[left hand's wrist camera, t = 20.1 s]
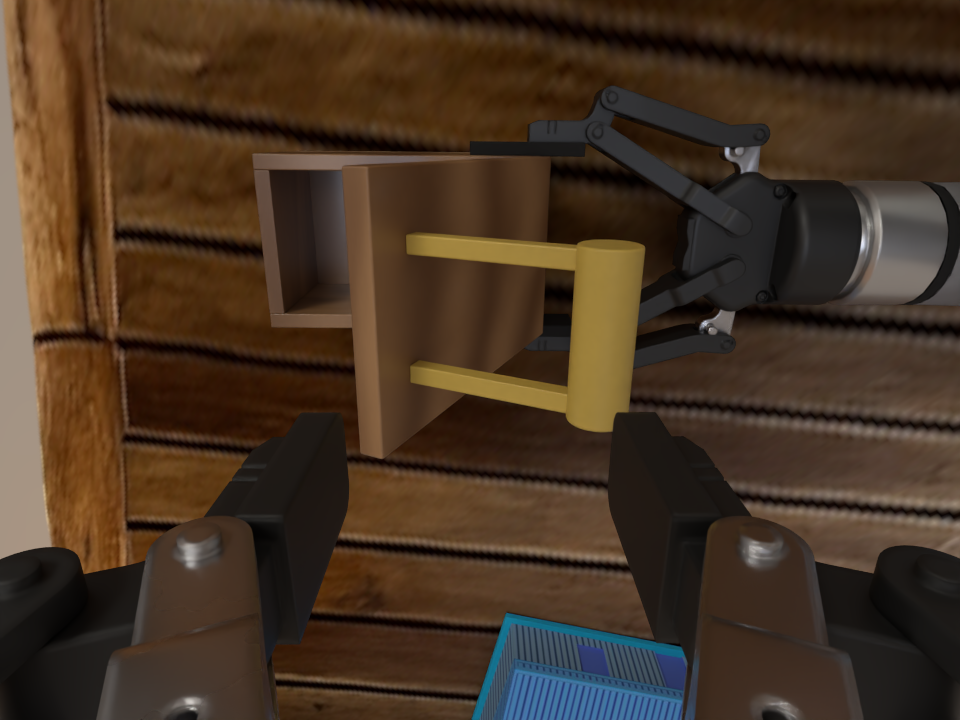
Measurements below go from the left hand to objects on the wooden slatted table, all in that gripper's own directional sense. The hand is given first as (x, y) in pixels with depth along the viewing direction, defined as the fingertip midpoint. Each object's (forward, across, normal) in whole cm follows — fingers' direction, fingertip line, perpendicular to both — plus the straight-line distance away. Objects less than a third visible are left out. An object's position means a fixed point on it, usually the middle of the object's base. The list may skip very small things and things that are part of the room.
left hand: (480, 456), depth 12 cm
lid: (+17, -1, 0) cm, 17 cm away
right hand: (+27, -1, 0) cm, 27 cm away
